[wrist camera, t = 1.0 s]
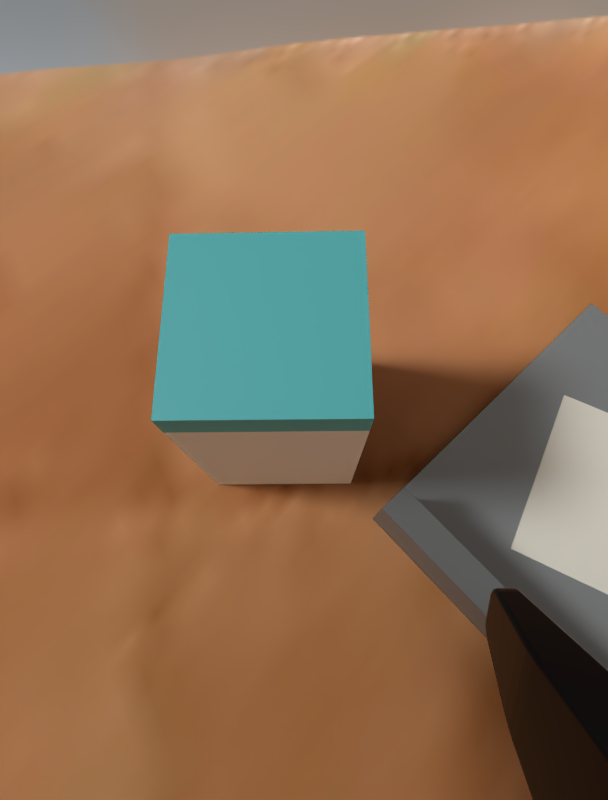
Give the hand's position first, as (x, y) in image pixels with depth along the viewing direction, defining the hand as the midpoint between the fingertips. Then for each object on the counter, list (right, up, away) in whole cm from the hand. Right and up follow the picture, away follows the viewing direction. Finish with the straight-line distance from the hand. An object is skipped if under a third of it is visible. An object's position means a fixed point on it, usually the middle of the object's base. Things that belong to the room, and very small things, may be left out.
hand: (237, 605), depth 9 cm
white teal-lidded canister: (0, +3, +15) cm, 15 cm away
